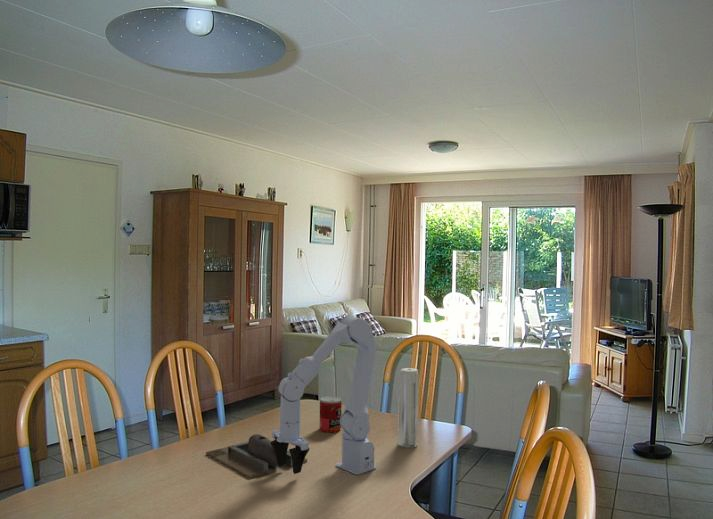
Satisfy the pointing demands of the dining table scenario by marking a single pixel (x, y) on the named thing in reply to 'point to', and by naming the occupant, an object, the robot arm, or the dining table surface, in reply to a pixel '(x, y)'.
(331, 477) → the dining table surface
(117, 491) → the dining table surface
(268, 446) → the perforated stone tool
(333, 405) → the canned food
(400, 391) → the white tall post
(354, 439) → the robot arm
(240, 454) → the brown tray
